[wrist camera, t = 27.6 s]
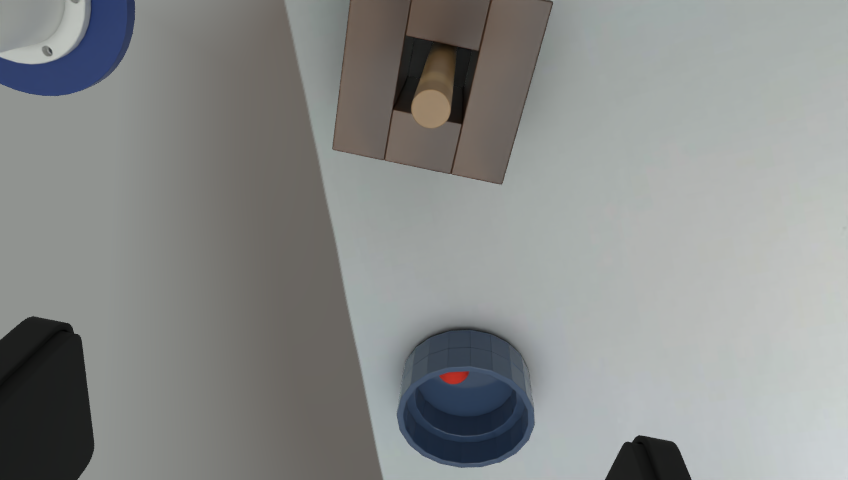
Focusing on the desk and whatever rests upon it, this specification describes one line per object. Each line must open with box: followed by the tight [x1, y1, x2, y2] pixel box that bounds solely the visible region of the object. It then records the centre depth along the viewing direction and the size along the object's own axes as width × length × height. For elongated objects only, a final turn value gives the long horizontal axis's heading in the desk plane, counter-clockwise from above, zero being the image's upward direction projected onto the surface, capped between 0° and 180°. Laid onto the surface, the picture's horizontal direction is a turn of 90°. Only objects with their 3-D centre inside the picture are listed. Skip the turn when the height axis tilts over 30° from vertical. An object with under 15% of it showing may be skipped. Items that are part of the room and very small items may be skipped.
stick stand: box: [332, 0, 553, 184], centre depth 39 cm, size 12×12×10 cm
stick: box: [411, 42, 457, 128], centre depth 34 cm, size 2×2×20 cm
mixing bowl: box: [397, 330, 535, 468], centre depth 56 cm, size 13×13×6 cm
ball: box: [439, 371, 469, 384], centre depth 55 cm, size 3×3×3 cm
